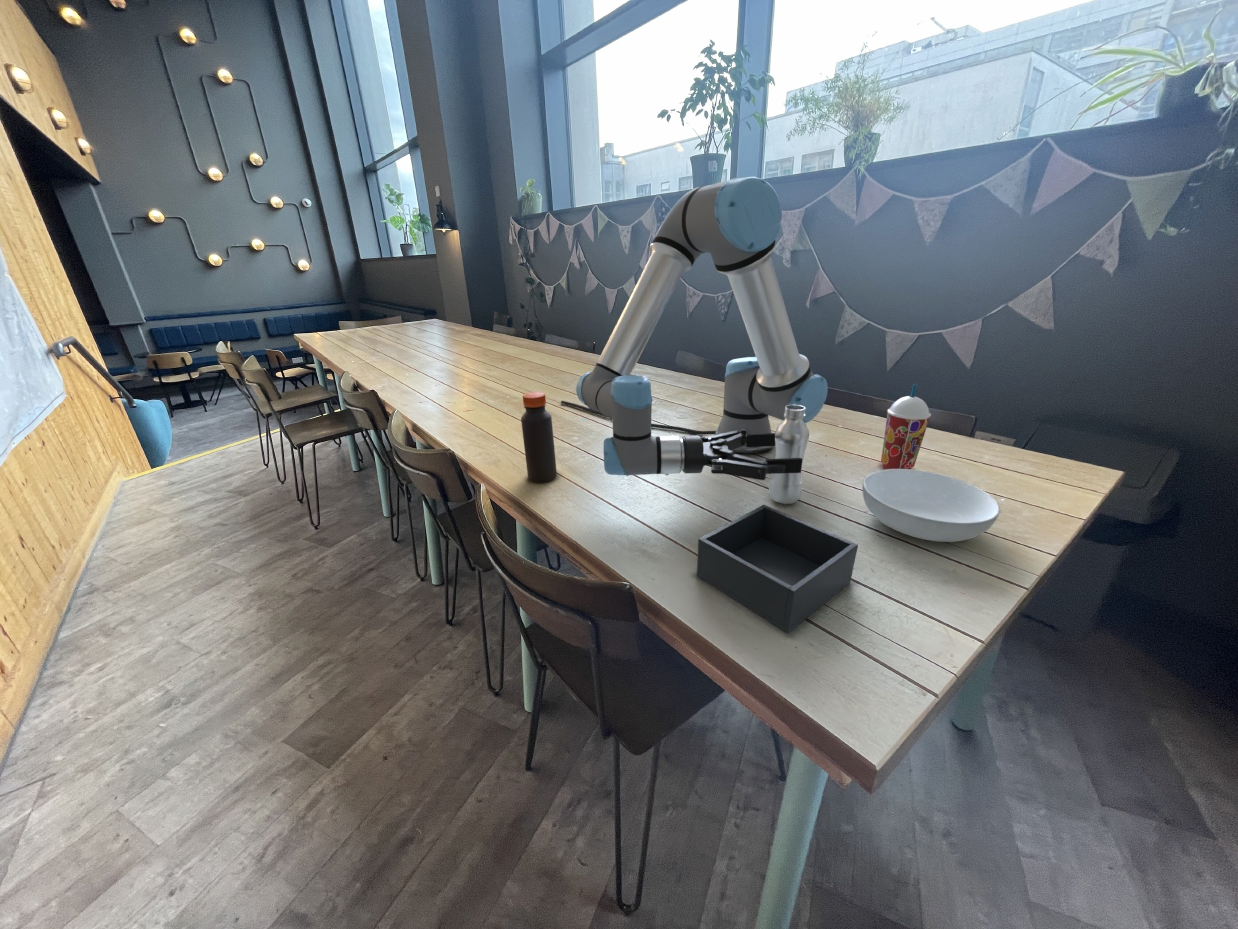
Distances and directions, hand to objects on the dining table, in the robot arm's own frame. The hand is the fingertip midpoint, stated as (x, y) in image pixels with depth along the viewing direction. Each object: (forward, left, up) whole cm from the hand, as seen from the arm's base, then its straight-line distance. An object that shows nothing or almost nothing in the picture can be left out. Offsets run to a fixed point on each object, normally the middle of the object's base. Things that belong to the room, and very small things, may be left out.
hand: (788, 451), depth 93 cm
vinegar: (-44, -32, -11) cm, 55 cm away
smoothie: (+8, +33, -11) cm, 36 cm away
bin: (+14, -24, -11) cm, 30 cm away
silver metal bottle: (0, 0, -11) cm, 11 cm away
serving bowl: (+22, +10, -11) cm, 27 cm away
